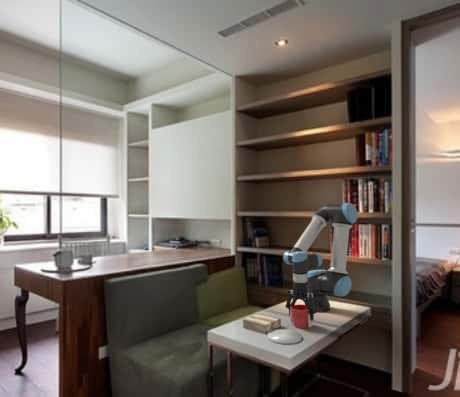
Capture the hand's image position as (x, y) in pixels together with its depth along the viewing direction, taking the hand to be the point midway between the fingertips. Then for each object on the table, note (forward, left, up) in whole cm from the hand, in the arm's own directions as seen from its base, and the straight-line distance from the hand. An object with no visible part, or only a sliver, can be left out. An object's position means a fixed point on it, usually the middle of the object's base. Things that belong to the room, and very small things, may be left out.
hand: (301, 324), depth 178 cm
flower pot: (0, 0, -1) cm, 1 cm away
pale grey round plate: (+19, +2, -1) cm, 19 cm away
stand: (+14, -15, -1) cm, 21 cm away
